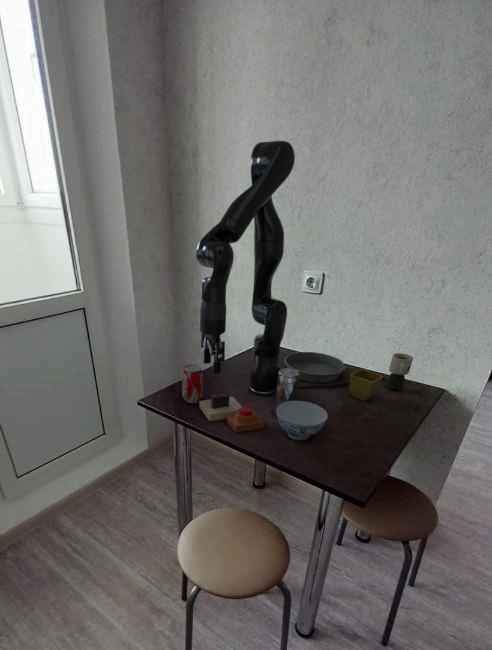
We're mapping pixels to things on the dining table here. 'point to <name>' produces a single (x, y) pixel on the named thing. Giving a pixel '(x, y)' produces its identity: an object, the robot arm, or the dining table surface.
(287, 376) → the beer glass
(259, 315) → the robot arm
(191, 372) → the soda can
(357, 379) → the flower pot
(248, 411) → the button
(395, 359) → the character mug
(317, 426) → the chinaware
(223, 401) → the oven dial
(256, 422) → the housing
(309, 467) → the dining table surface
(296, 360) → the cake pan
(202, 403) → the panel
